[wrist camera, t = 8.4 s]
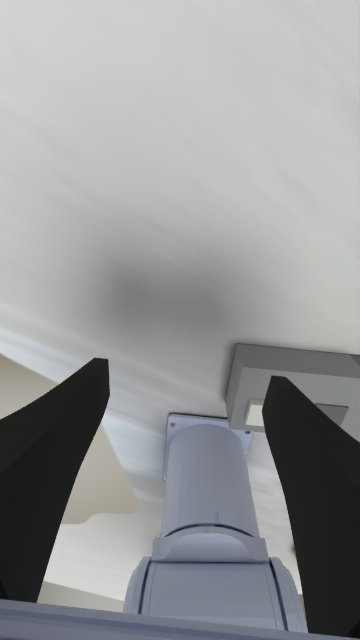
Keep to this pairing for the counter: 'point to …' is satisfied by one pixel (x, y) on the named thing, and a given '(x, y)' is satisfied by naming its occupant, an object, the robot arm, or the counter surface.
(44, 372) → the counter surface
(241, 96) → the counter surface
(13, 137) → the counter surface
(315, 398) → the power strip
